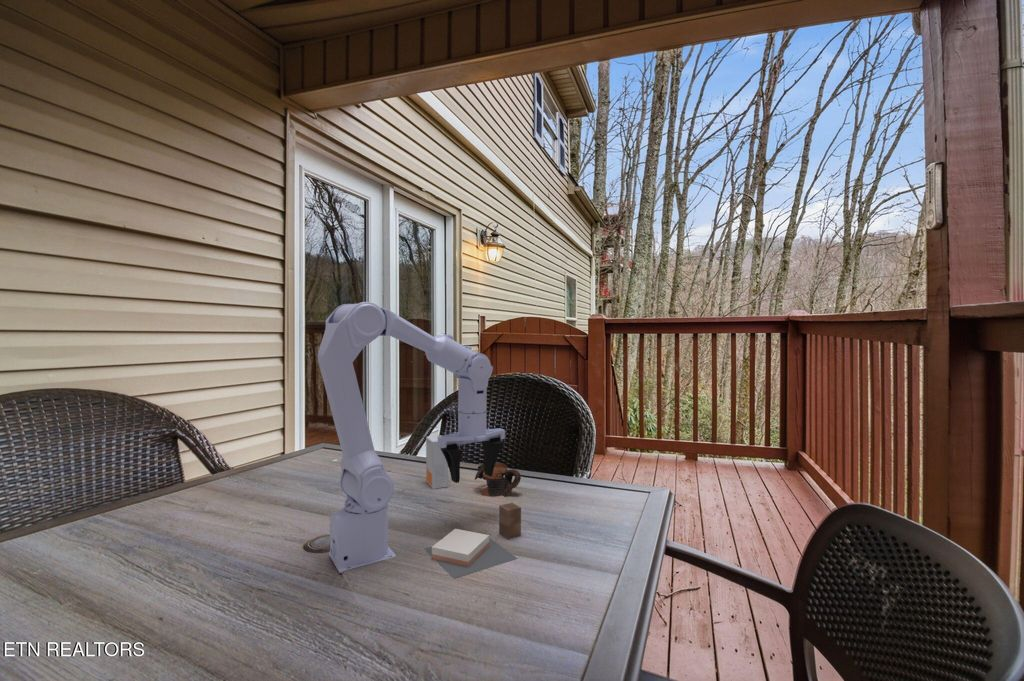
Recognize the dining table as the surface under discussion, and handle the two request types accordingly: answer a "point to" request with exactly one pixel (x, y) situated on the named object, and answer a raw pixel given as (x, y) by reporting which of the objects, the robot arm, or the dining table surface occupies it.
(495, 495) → the pottery mug
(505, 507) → the walnut block
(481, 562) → the mat
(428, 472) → the skincare box
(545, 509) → the dining table surface
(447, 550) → the whetstone
